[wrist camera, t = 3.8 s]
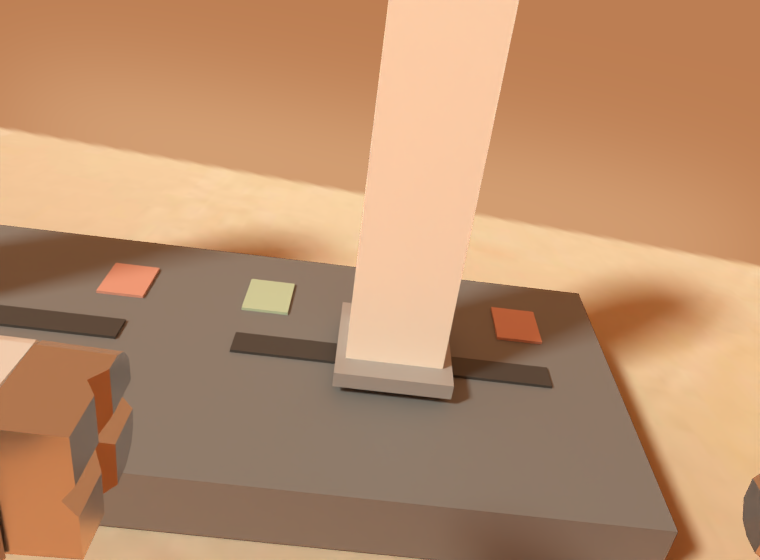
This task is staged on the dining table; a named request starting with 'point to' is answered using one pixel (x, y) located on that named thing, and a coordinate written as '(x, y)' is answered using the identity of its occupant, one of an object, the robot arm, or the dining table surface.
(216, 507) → the breaker panel
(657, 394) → the dining table surface
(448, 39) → the breaker lever
